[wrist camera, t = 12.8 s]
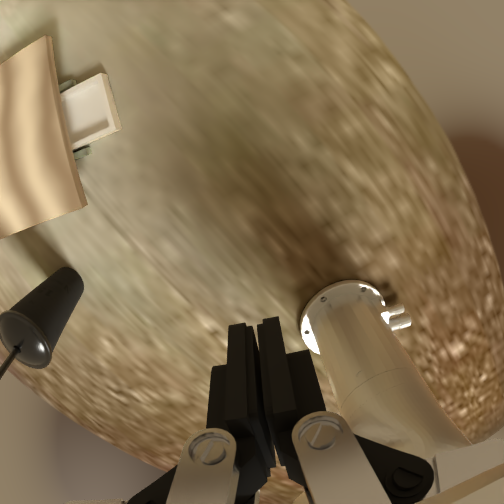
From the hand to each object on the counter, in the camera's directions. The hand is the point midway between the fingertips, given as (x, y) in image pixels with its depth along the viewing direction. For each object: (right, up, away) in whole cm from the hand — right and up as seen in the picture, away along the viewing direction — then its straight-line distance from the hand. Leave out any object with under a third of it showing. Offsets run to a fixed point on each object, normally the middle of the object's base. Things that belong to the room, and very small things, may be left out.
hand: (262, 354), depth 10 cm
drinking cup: (-26, -1, +28) cm, 38 cm away
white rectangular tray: (-22, +19, +19) cm, 35 cm away
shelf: (-27, +18, +19) cm, 37 cm away
